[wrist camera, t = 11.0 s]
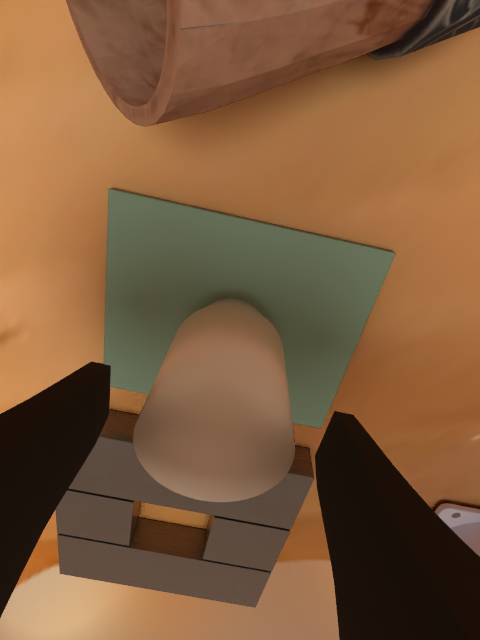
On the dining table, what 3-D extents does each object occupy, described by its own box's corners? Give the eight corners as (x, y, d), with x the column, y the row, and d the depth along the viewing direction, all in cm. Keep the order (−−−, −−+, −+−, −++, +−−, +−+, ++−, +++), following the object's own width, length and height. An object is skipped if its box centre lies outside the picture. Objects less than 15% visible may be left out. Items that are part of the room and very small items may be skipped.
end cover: (292, 296, 15) (317, 405, 9) (266, 377, 17) (271, 513, 11) (191, 273, 15) (139, 368, 8) (177, 358, 17) (127, 486, 10)
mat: (392, 250, 14) (395, 253, 14) (319, 423, 19) (321, 428, 18) (112, 188, 14) (108, 189, 13) (106, 380, 18) (103, 385, 18)
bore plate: (309, 448, 20) (314, 477, 18) (255, 576, 26) (255, 607, 24) (70, 401, 19) (50, 427, 17) (74, 543, 25) (59, 573, 24)
